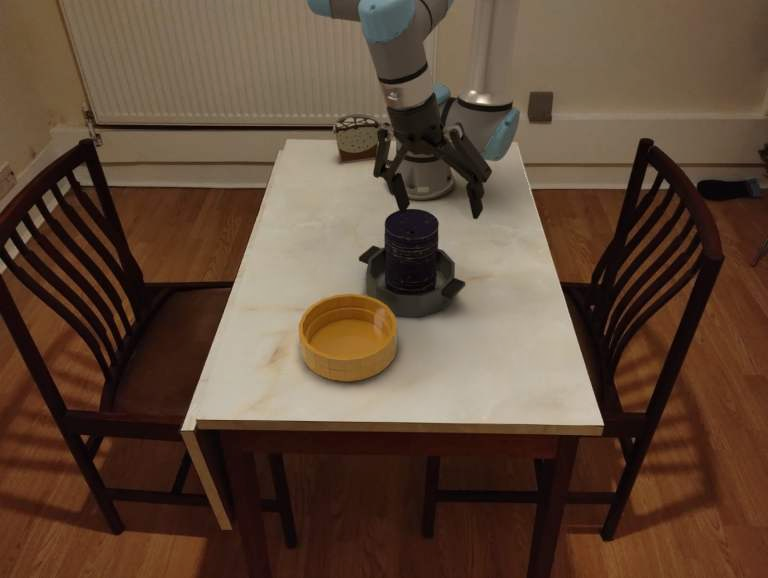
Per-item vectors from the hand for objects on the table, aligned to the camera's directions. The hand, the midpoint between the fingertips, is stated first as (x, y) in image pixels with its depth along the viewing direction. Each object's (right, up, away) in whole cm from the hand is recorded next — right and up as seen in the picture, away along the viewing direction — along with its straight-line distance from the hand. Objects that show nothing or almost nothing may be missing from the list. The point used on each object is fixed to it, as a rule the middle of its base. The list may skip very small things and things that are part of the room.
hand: (440, 211), depth 112 cm
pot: (-4, -13, +16) cm, 21 cm away
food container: (-17, +21, +58) cm, 63 cm away
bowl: (-16, -23, +3) cm, 28 cm away
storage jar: (-4, -13, +16) cm, 21 cm away
